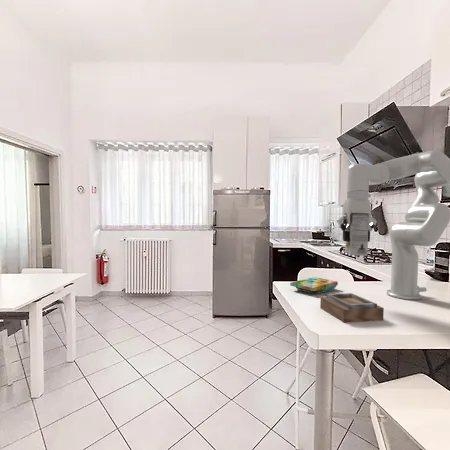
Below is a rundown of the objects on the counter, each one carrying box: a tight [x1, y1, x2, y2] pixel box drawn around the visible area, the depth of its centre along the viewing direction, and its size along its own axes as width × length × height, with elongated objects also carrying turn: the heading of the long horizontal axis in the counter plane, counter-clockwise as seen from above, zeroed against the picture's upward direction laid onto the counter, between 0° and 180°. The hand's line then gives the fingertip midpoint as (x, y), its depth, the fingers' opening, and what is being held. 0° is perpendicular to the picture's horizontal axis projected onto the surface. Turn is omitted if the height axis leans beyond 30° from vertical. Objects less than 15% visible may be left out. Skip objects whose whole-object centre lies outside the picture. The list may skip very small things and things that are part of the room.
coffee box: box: [344, 213, 369, 257], centre depth 108 cm, size 9×6×16 cm
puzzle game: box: [289, 276, 339, 295], centre depth 126 cm, size 12×5×20 cm
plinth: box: [319, 292, 385, 323], centre depth 94 cm, size 14×14×5 cm
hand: (356, 241), depth 108 cm, fingers closed on coffee box, 8 cm apart
